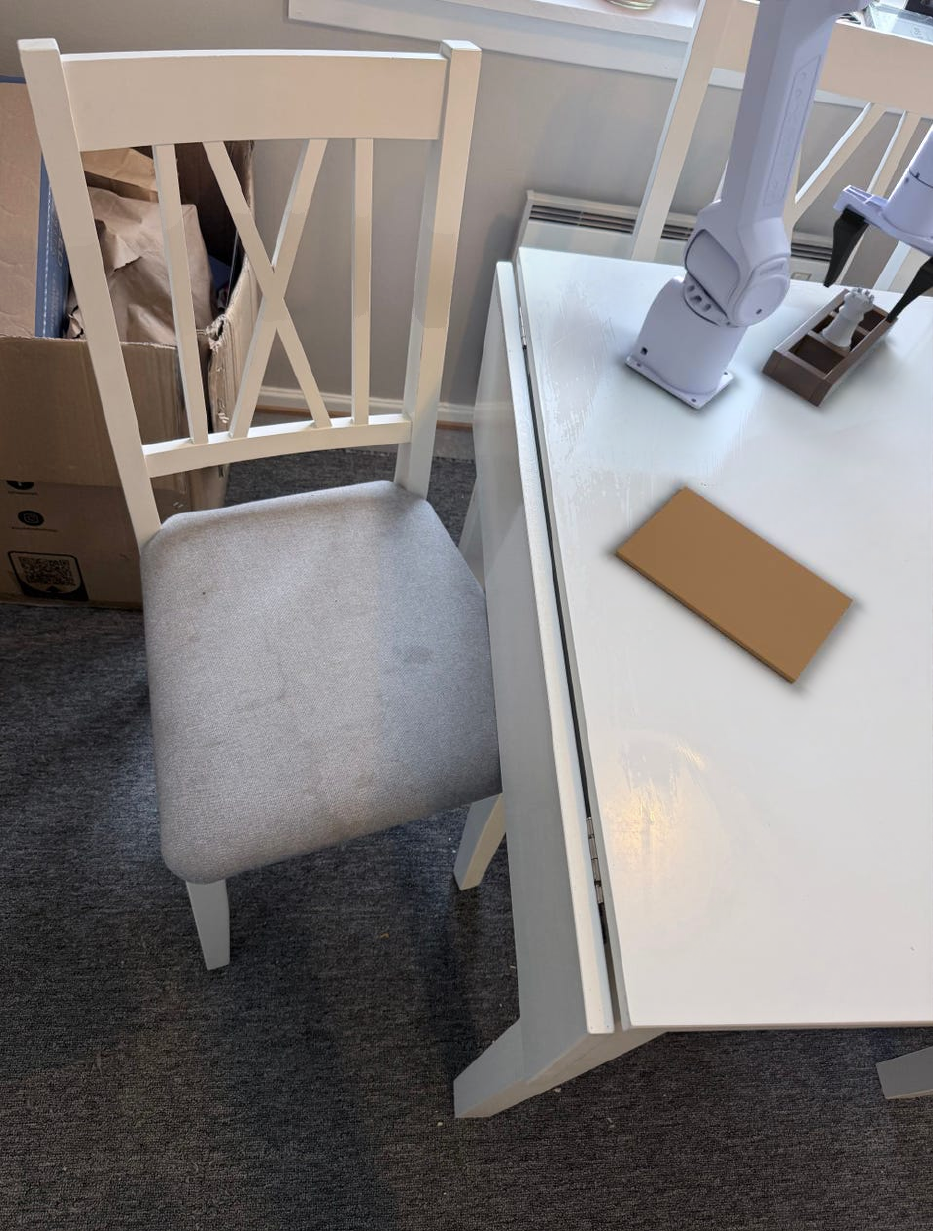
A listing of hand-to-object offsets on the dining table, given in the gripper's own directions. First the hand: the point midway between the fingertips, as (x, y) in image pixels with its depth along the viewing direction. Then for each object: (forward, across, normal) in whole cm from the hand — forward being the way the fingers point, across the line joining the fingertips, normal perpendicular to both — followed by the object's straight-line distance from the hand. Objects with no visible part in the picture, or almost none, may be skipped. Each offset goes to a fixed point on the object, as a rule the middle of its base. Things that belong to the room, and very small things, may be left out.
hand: (859, 301), depth 92 cm
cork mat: (+7, -9, +39) cm, 41 cm away
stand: (+7, 0, 0) cm, 7 cm away
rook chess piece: (+7, 0, 0) cm, 7 cm away
